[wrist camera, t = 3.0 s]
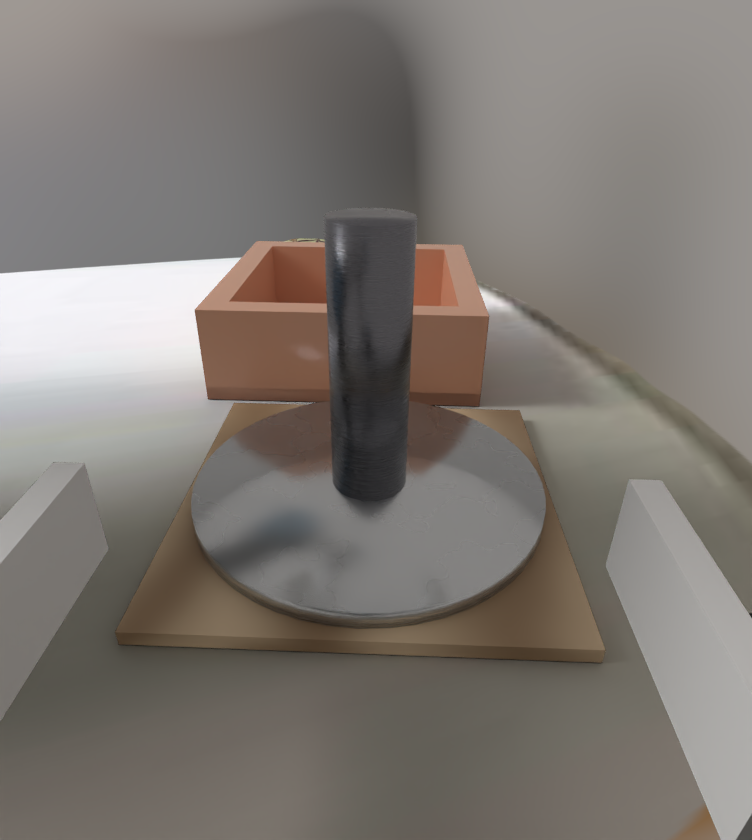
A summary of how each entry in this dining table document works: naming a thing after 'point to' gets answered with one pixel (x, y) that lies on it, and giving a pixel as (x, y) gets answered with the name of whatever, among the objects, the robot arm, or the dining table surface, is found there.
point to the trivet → (449, 637)
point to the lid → (368, 470)
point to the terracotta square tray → (308, 335)
